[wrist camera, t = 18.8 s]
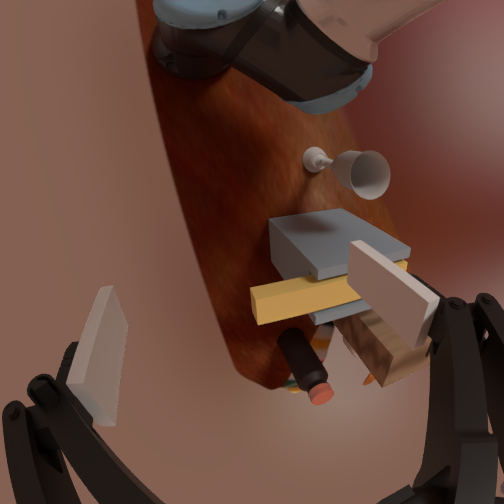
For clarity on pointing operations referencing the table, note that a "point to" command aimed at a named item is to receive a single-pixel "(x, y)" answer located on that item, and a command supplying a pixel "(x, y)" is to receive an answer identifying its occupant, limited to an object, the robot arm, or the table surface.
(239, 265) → the table surface
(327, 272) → the grey u cradle
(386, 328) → the walnut pedestal
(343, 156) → the chalice
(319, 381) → the bottle
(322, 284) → the ochre bar
